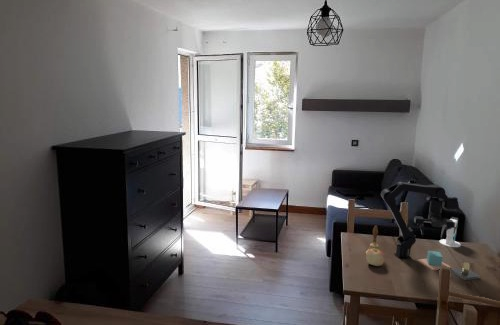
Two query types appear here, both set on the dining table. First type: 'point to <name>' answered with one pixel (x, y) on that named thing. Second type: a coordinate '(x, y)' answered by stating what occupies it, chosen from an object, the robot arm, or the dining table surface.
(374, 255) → the apple
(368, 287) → the dining table surface
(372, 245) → the hand bell
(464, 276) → the post base
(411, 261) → the dining table surface
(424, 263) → the tile
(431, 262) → the teal cube
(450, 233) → the white stand
